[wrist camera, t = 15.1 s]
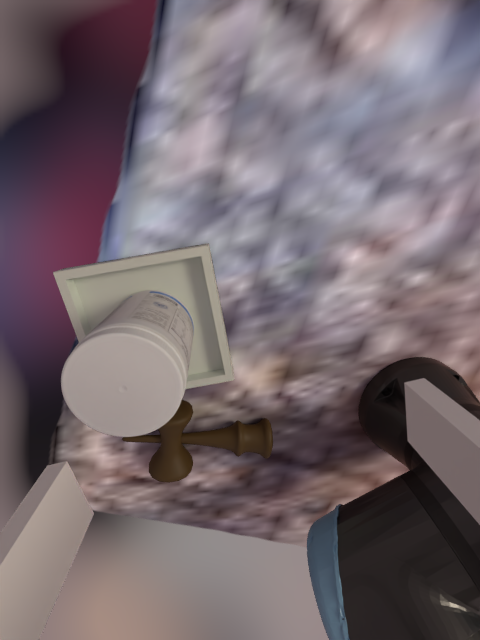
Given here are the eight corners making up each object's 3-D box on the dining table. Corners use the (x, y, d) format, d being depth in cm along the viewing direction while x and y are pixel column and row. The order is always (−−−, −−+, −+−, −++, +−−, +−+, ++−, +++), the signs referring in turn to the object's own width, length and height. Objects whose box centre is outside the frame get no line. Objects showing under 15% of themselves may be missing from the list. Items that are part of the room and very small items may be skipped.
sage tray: (233, 370, 41) (234, 380, 39) (108, 393, 41) (102, 404, 38) (208, 243, 35) (208, 245, 33) (63, 268, 35) (52, 272, 33)
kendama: (263, 450, 47) (128, 452, 44) (270, 395, 44) (126, 394, 41) (271, 482, 41) (117, 486, 38) (279, 421, 38) (114, 421, 36)
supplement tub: (134, 369, 39) (89, 454, 25) (102, 301, 36) (30, 355, 22) (206, 347, 39) (201, 421, 25) (180, 277, 36) (157, 316, 22)
